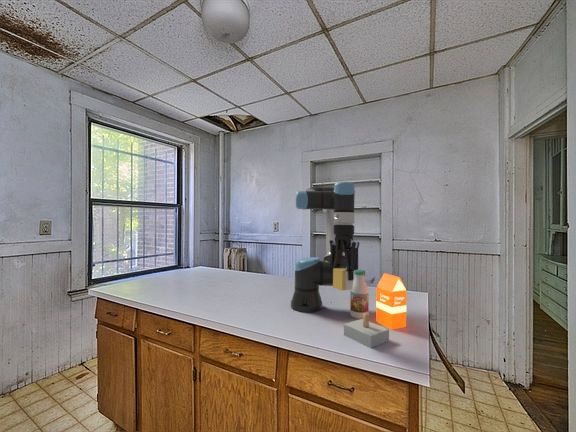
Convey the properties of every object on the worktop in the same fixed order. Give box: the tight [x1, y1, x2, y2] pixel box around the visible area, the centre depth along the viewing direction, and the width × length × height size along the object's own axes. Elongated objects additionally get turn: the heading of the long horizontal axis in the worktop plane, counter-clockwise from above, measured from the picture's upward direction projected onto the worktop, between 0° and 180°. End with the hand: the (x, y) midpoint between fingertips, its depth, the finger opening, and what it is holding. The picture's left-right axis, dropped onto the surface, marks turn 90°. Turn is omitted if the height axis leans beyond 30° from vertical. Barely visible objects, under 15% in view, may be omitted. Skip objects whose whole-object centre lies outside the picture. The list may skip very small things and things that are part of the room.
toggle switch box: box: [343, 312, 390, 349], centre depth 99 cm, size 12×10×8 cm
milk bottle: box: [349, 269, 370, 320], centre depth 121 cm, size 8×8×20 cm
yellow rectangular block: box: [332, 268, 354, 291], centre depth 101 cm, size 5×5×7 cm
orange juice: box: [375, 272, 407, 330], centre depth 112 cm, size 8×9×20 cm
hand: (343, 287), depth 101 cm, fingers closed on yellow rectangular block, 5 cm apart
